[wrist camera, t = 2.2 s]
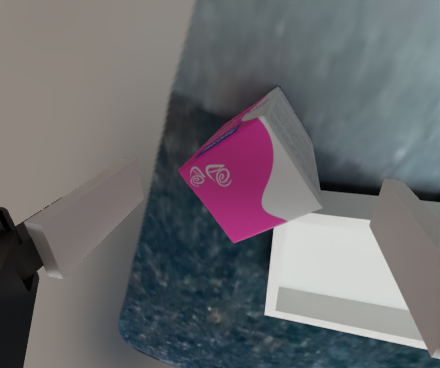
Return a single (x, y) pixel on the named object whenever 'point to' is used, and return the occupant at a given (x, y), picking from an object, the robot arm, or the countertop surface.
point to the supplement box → (257, 169)
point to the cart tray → (339, 273)
